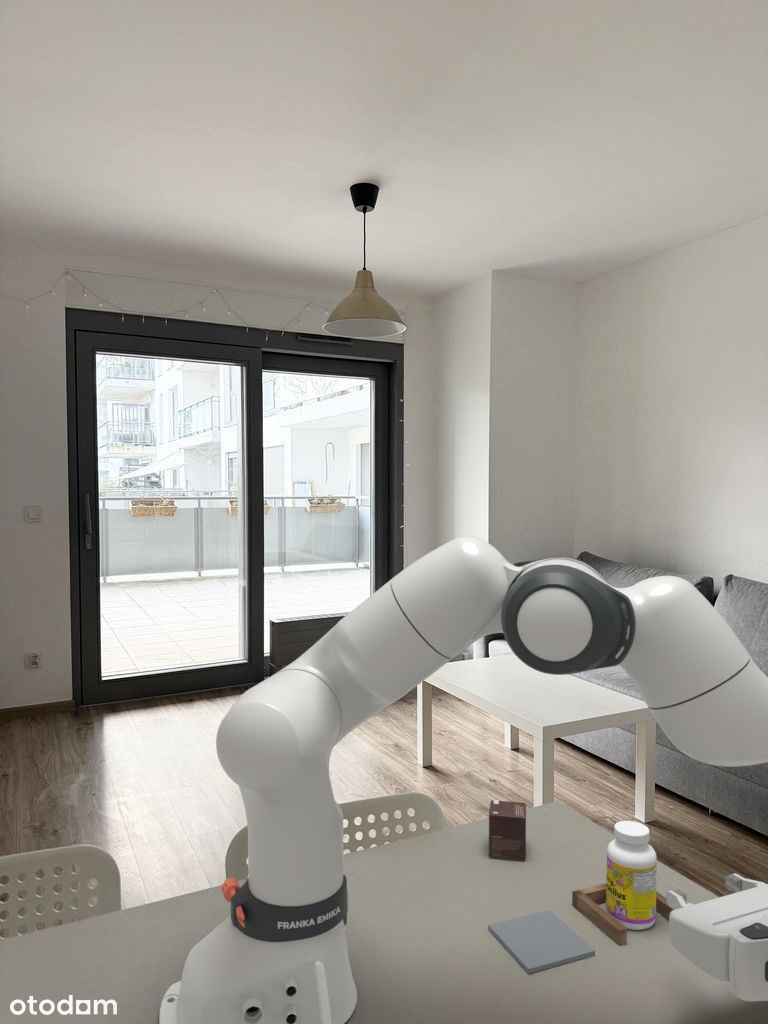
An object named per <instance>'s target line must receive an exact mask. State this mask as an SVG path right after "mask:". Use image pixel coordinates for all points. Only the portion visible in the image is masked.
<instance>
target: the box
mask: <svg viewBox="0 0 768 1024" xmlns="http://www.w3.org/2000/svg"><path fill="white" fill-rule="evenodd" d="M526 831H527V805H526V802H519V801H507V800H490V805H489V812H488V857H489V858H491V859H497V858H498V859H501V860H508V861H509V860H510V861H511V860H512V861H520V862H524V861H526V860H527V859H526V857H527V856H526V855H527V854H526V853H527V847H526V846H527V837H526V836H527V832H526Z"/></svg>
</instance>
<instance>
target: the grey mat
mask: <svg viewBox="0 0 768 1024" xmlns="http://www.w3.org/2000/svg"><path fill="white" fill-rule="evenodd" d="M487 931H489V932H490V933H491V934H492V935H493V936H494V937H495V938H496V940H497V941H498V942H499V943H500V944H501V945H502V946H503V948H505V950H506V951H507V952H508V954H510V955H511V956H512V957H513V959H515V961H516V962H517V963H518V964H519V965H520V966H521V967H522V968H523V969H524V970H525V972H526V973H527V974H529V975H530V974H533V973H537V972H540V971H544V970H547V969H551V968H555V967H557V966H561V965H565V964H569V963H572V962H576V961H581V960H584V959H587V958H590V957H593V956H594V957H595V956H596V950H595V949H594V948H593V947H592V946H591V945H589V944H588V943H587V942H586V940H584V939H583V938H582V937H580V936H579V934H577V932H575V931H574V930H573V929H572V928H570V926H569V925H567V923H565V922H564V921H563V920H562V919H561V918H559V916H557V914H555V913H554V911H552V910H551V909H547V910H543V911H539V912H536V913H532V914H527V915H523V916H519V917H516V918H515V917H514V918H511V919H506V920H503V921H499V922H495V923H491V924H488V925H487Z"/></svg>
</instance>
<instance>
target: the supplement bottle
mask: <svg viewBox="0 0 768 1024" xmlns="http://www.w3.org/2000/svg"><path fill="white" fill-rule="evenodd" d="M613 827H614V829H613V834H614V835H613V836H614V837H615V839H613V840H611V841H610V842H609V844H608V846H607V848H606V883H607V884H606V883H605V884H606V902H605V904H606V905H605V909H606V910H605V911H606V912H607V913H608V914H610V915H611V916H612V917H613V918H614V919H616V920H617V921H618V922H619V923H621V924H622V925H623V926H624V927H626V928H627V930H633V931H635V930H637V931H640V930H641V931H642V930H646V929H649V928H651V927H653V925H654V924H655V922H656V920H657V912H656V891H657V866H658V865H657V864H658V863H657V860H658V858H657V853H656V851H655V849H654V848H653V846H652V845H651V844H649V841H650V836H651V835H650V829H649V828H648V826H647V825H645V824H643V823H641V822H637V821H633V820H622V821H621V820H620V821H618V822H616V823H615V824H614V826H613Z"/></svg>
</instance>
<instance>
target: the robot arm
mask: <svg viewBox="0 0 768 1024" xmlns="http://www.w3.org/2000/svg"><path fill="white" fill-rule="evenodd" d="M498 633H499V634H503V636H504V638H505V640H506V641H505V642H506V644H507V645H508V646H509V648H510V650H511V651H512V653H513V654H514V655H515V657H517V658H518V660H520V662H522V663H523V664H525V665H526V666H528V668H531V669H533V670H535V671H538V672H539V673H543V674H548V675H554V676H556V675H557V676H559V675H560V676H566V675H574V674H579V673H583V672H588V671H593V670H599V669H605V668H611V667H616V666H620V668H622V669H623V670H624V671H625V673H626V674H627V675H628V677H629V678H630V679H631V681H632V682H633V684H634V686H635V687H636V689H637V691H638V692H639V693H640V696H641V697H642V699H643V700H644V702H645V704H646V705H647V707H648V710H650V712H651V714H652V715H653V717H654V719H655V721H656V722H657V724H658V726H659V727H660V729H661V730H662V731H663V733H664V734H665V736H666V737H667V738H668V739H669V741H670V742H671V743H672V744H673V745H674V746H675V747H676V748H677V750H679V751H680V752H681V753H683V754H684V755H685V756H687V757H689V758H691V759H693V760H695V761H697V762H700V763H703V764H707V765H709V766H711V765H712V766H715V767H747V766H754V765H761V764H764V763H765V764H766V763H768V676H767V675H766V674H765V673H764V672H763V671H762V670H761V669H760V668H759V666H758V665H757V664H756V662H755V661H754V660H753V658H752V657H751V656H750V654H749V652H748V651H747V649H746V647H745V646H744V645H743V643H742V642H741V640H740V639H739V637H738V636H737V635H736V634H735V632H734V630H733V629H732V628H731V626H730V625H729V624H728V623H727V621H726V620H725V619H724V618H723V616H721V614H720V613H719V611H718V610H717V609H716V608H715V607H714V606H713V604H712V603H711V602H710V601H709V600H708V599H707V598H706V597H705V595H703V593H701V592H700V590H698V589H697V587H695V585H693V584H692V583H691V582H690V581H688V580H686V579H684V578H682V577H679V576H674V575H660V576H658V575H657V576H654V577H648V578H646V579H643V580H640V581H638V582H636V583H635V584H633V585H631V586H628V587H615V586H613V585H611V584H609V583H607V581H606V580H605V579H604V577H603V575H602V574H600V572H599V571H598V570H597V569H596V568H595V567H593V566H592V565H591V564H588V562H585V561H583V560H581V559H578V558H573V557H568V556H555V557H553V556H552V557H546V558H542V559H541V558H540V559H534V560H526V561H525V560H524V561H518V562H516V563H514V564H512V563H511V562H510V561H508V560H507V559H506V557H504V556H503V555H502V553H501V552H499V550H498V549H497V548H496V547H494V546H493V545H492V544H491V543H489V542H487V541H485V540H484V539H481V538H479V537H476V536H471V535H463V536H459V537H457V538H453V539H451V540H450V541H448V542H446V543H444V544H442V545H440V546H438V547H437V548H435V549H433V550H432V551H429V552H428V553H426V554H425V555H423V556H422V557H420V558H418V559H417V560H415V561H414V562H413V563H411V564H410V565H408V566H406V567H405V568H403V570H401V571H400V572H399V573H397V574H396V575H395V576H393V577H392V578H391V579H389V580H388V582H385V584H384V585H382V586H381V587H379V589H378V590H376V591H375V592H374V593H373V594H371V595H370V596H368V597H367V598H365V600H363V602H361V603H360V604H358V605H357V606H356V607H355V608H353V609H352V610H351V611H350V612H349V613H348V614H346V615H345V616H344V617H343V618H341V619H340V620H339V621H338V622H337V623H336V624H335V625H334V626H333V627H332V628H331V629H330V630H329V631H327V632H326V633H325V634H324V635H323V636H322V637H321V638H319V639H318V640H317V641H316V642H315V643H314V644H313V645H312V646H311V647H310V648H308V649H307V650H306V651H305V652H303V653H302V654H301V655H300V656H299V657H297V658H296V659H295V660H294V661H292V662H291V663H289V664H288V665H286V666H285V667H283V668H281V669H280V670H279V671H276V673H273V674H272V675H271V676H269V677H267V678H266V679H264V680H262V681H260V682H259V683H258V684H255V685H254V686H252V687H250V688H248V689H247V690H246V691H245V692H243V693H242V694H241V695H240V696H239V697H238V698H237V700H236V701H235V702H234V704H233V705H232V706H231V707H230V709H228V711H227V712H226V715H225V716H224V717H223V718H222V720H221V722H220V724H219V726H218V729H217V732H216V740H215V747H216V754H217V758H218V761H219V763H220V766H221V768H222V769H223V771H224V772H225V774H226V775H227V777H228V778H230V780H231V781H232V782H233V783H235V784H236V785H237V786H238V788H239V790H240V795H241V798H242V801H243V805H244V810H245V815H246V824H247V858H248V859H247V862H248V864H247V865H248V869H247V871H248V872H247V873H248V877H247V879H246V880H245V882H244V883H243V884H242V885H241V886H240V885H239V882H238V880H237V879H236V878H235V877H228V878H227V879H225V880H224V882H223V883H222V884H221V888H220V889H221V892H222V894H223V897H224V899H225V901H227V902H230V915H229V916H227V918H226V919H224V920H223V921H222V922H221V923H219V924H218V926H216V927H215V928H214V929H213V930H212V931H210V932H209V933H208V934H207V935H206V936H205V937H203V939H201V940H200V941H198V942H197V943H196V944H195V945H194V946H193V947H192V948H191V949H190V951H189V953H188V954H187V957H186V960H185V962H184V967H183V970H182V974H181V978H180V979H181V980H179V981H177V982H175V983H172V984H171V985H170V986H169V988H168V989H167V990H166V992H165V993H164V995H163V997H162V1001H161V1003H160V1008H159V1014H158V1017H159V1018H158V1024H345V1023H346V1022H347V1021H349V1019H350V1018H351V1016H352V1015H353V1013H354V1012H355V1009H356V1006H357V1003H358V991H357V987H356V983H355V980H354V977H353V972H352V968H351V964H350V960H349V959H350V958H349V951H348V945H347V937H346V926H347V923H348V912H349V889H348V880H347V875H345V874H344V813H343V810H342V808H341V806H340V804H339V803H338V802H337V801H336V799H335V795H334V791H333V787H332V782H331V777H330V761H331V754H332V751H333V748H334V747H336V745H338V744H339V743H340V742H341V740H343V739H344V738H345V737H346V736H347V735H349V734H350V733H352V731H353V730H356V728H358V727H360V725H362V724H363V723H365V722H366V721H367V720H369V719H370V718H372V717H373V716H375V715H376V714H378V713H380V712H381V711H382V710H383V709H385V708H387V707H388V706H390V705H391V704H393V703H395V702H396V701H398V700H400V699H401V698H403V697H404V696H405V695H407V694H408V693H409V692H410V691H413V689H415V688H416V687H417V686H419V685H420V684H421V683H423V682H424V681H425V680H426V679H429V677H430V676H432V675H433V674H434V673H436V672H437V671H438V670H439V669H441V668H442V667H444V666H445V665H446V664H447V663H449V662H450V661H451V660H453V659H454V658H455V657H457V656H458V655H460V654H461V653H463V651H464V650H466V649H467V648H468V647H470V646H471V645H472V644H473V643H475V642H477V641H479V640H481V639H482V638H484V637H486V636H488V635H493V634H498ZM724 880H725V883H724V886H725V889H726V890H728V891H730V892H731V893H730V894H726V895H723V896H720V897H716V898H712V899H710V900H705V901H702V902H698V903H695V904H693V903H691V902H688V903H687V898H688V897H687V893H685V892H683V891H681V890H680V888H675V889H671V890H668V891H667V892H666V898H667V904H668V905H669V906H670V907H671V908H673V909H674V910H673V911H671V912H670V916H669V920H668V936H669V940H670V943H671V946H672V948H673V949H674V950H675V951H676V952H678V953H679V954H680V955H682V956H683V957H684V958H685V959H686V960H687V961H689V962H690V963H692V964H693V965H695V967H697V968H699V969H700V970H701V971H703V972H704V973H705V974H707V975H709V976H711V977H712V978H714V979H717V980H719V981H723V982H727V983H729V989H730V991H731V993H732V994H733V995H734V996H735V997H737V999H739V1000H741V1001H744V1002H768V883H765V882H763V881H759V880H754V879H750V878H745V877H743V876H742V875H740V874H738V873H735V872H734V873H731V874H728V875H726V876H725V877H724Z"/></svg>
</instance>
